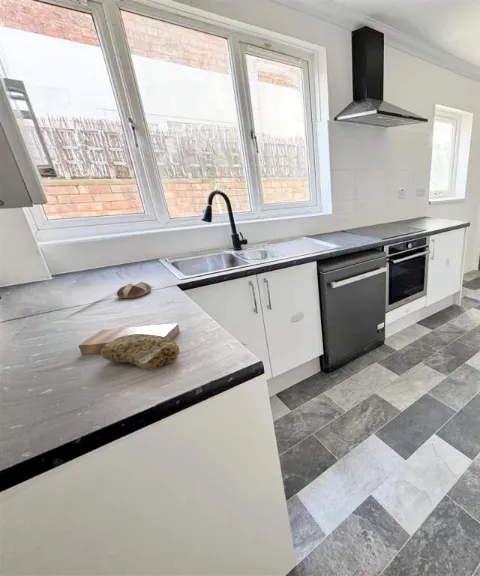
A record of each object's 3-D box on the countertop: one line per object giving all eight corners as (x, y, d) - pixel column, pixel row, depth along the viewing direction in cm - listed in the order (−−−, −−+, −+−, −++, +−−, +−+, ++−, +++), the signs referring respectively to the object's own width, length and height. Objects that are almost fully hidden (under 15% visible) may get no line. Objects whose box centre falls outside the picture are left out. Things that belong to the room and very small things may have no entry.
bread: (156, 290, 141) (153, 279, 139) (137, 299, 130) (133, 288, 129) (133, 290, 141) (129, 279, 140) (111, 299, 131) (107, 288, 129)
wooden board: (81, 354, 89) (78, 345, 88) (105, 338, 98) (102, 329, 97) (165, 347, 92) (162, 338, 91) (180, 331, 102) (177, 323, 101)
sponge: (188, 360, 87) (151, 331, 95) (180, 340, 83) (141, 312, 91) (137, 392, 78) (100, 357, 86) (124, 372, 73) (87, 337, 82)
